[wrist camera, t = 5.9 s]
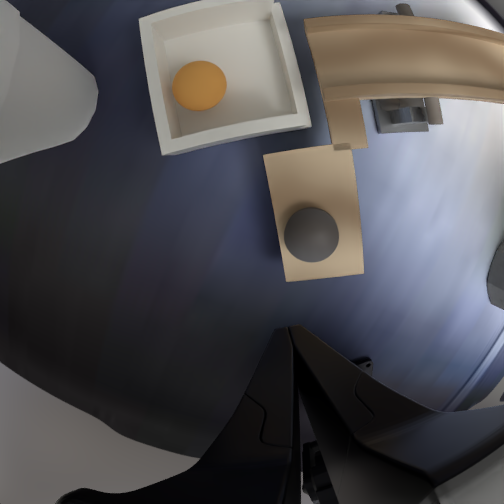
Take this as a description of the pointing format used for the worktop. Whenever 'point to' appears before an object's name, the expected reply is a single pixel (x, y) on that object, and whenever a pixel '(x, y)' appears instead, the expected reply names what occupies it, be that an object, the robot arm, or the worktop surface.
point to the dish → (234, 68)
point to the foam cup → (39, 90)
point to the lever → (352, 124)
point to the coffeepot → (497, 278)
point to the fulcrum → (400, 112)
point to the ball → (199, 85)
